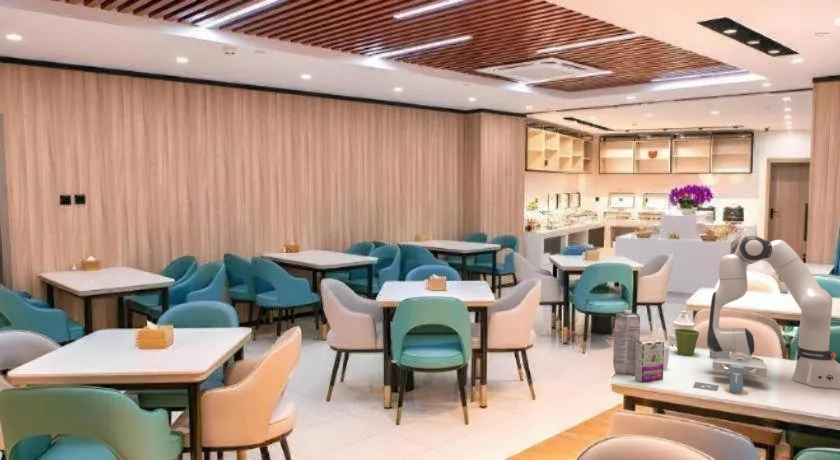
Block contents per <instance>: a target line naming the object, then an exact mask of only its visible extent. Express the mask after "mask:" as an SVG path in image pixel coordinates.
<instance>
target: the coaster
mask: <svg viewBox="0 0 840 460" xmlns="http://www.w3.org/2000/svg"><path fill="white" fill-rule="evenodd" d="M729 388H730V386H728V387H724V388H723V391H724V392H726V393H728V394H733V395H738V396H742V395H743V396H744V395H748V394H749V393H750V392H749V391H748V390H746V389H744V388H743V391H742V394H741V393H735V392H729Z"/></svg>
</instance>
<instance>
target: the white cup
mask: <svg viewBox="0 0 840 460" xmlns="http://www.w3.org/2000/svg"><path fill="white" fill-rule="evenodd" d="M669 357H670V346H668V345H665V344H664V359H663V371H665V370H668V364H669V360H670V359H669Z"/></svg>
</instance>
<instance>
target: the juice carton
mask: <svg viewBox="0 0 840 460" xmlns="http://www.w3.org/2000/svg"><path fill="white" fill-rule="evenodd" d="M613 331H614V333H613V357H612V360H613V361H612V363H613V369H614V373H615V374H619V375H620V374H621V375H632V376H635V360H636V342H637V341H641V340H640V335H641V316H640V313H633V312H632V310H630V309H625V310H624V312H621V311H618V312H616V314H615V318H614V330H613Z"/></svg>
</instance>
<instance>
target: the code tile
mask: <svg viewBox="0 0 840 460" xmlns="http://www.w3.org/2000/svg"><path fill="white" fill-rule="evenodd" d="M719 387H720V385H718V384H712V383H705V382H699V381H695V382H694V384H693V387H692V388H693V389H698V390H700V389H701V390H707V391H711V392H712V391H713V392H718V390H719Z"/></svg>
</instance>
